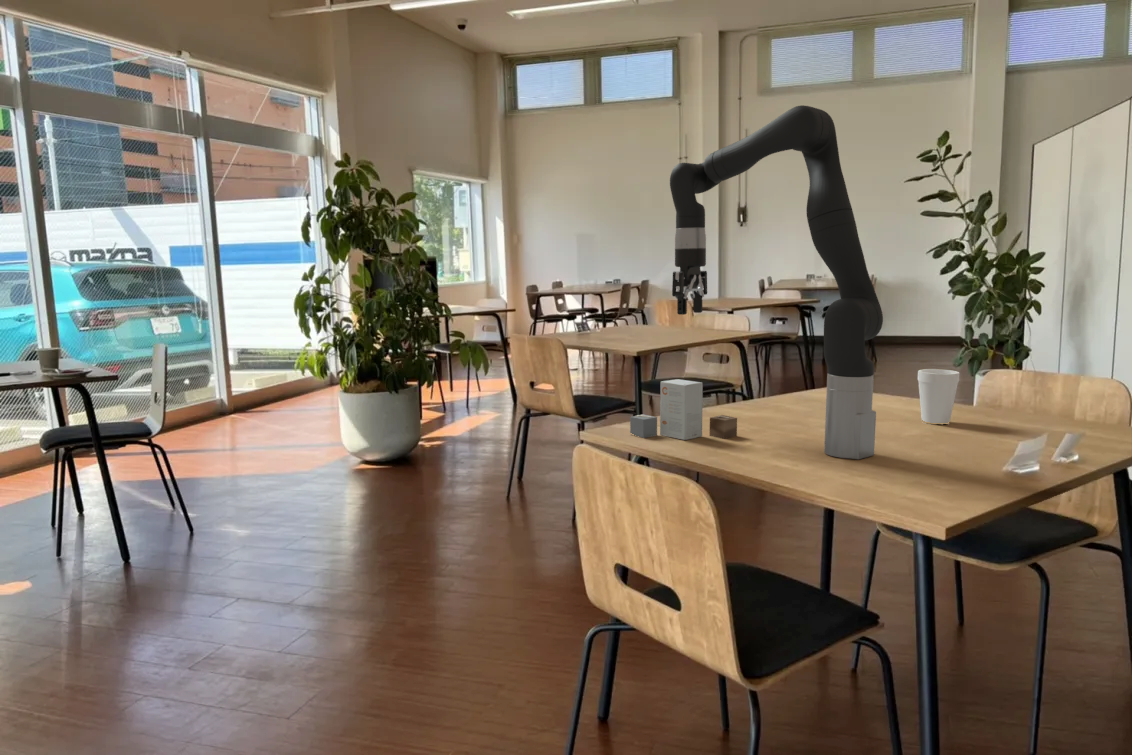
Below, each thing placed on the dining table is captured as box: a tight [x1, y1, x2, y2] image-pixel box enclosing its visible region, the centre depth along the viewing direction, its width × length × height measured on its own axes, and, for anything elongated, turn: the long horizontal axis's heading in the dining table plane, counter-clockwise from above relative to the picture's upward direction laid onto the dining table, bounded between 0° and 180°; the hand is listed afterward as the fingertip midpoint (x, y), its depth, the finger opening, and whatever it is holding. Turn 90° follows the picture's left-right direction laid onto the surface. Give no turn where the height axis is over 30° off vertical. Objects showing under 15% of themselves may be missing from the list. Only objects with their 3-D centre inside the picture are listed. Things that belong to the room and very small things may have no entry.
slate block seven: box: [629, 414, 658, 439], centre depth 192 cm, size 4×4×5 cm
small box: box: [659, 378, 704, 441], centre depth 190 cm, size 8×6×13 cm
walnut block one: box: [709, 414, 738, 440], centre depth 191 cm, size 4×4×5 cm
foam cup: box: [917, 368, 960, 423], centre depth 203 cm, size 10×9×13 cm
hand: (690, 313), depth 199 cm, fingers open, 8 cm apart
